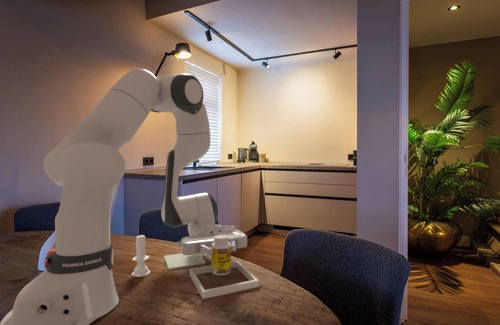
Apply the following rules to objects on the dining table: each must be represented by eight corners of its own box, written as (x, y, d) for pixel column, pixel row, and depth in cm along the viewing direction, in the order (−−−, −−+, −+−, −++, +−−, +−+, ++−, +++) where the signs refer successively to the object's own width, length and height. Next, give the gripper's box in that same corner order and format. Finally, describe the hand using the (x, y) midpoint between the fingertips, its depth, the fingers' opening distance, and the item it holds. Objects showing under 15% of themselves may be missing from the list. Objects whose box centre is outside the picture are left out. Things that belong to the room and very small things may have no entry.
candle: (154, 271, 86) (153, 233, 86) (140, 278, 81) (140, 237, 81) (141, 268, 88) (140, 231, 88) (127, 275, 83) (127, 235, 83)
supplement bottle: (216, 278, 75) (216, 240, 75) (208, 271, 80) (208, 235, 80) (234, 273, 79) (234, 237, 78) (225, 266, 83) (225, 232, 83)
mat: (168, 270, 87) (168, 268, 87) (163, 257, 98) (163, 255, 98) (206, 263, 92) (206, 262, 92) (197, 252, 103) (197, 250, 103)
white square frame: (202, 299, 69) (202, 292, 69) (189, 274, 84) (189, 268, 84) (258, 286, 76) (258, 280, 76) (237, 266, 90) (237, 260, 90)
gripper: (176, 231, 87) (185, 243, 74) (237, 225, 95) (254, 235, 82) (176, 251, 87) (185, 267, 74) (237, 243, 95) (254, 256, 83)
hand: (222, 250), depth 78 cm, fingers closed on supplement bottle, 5 cm apart
